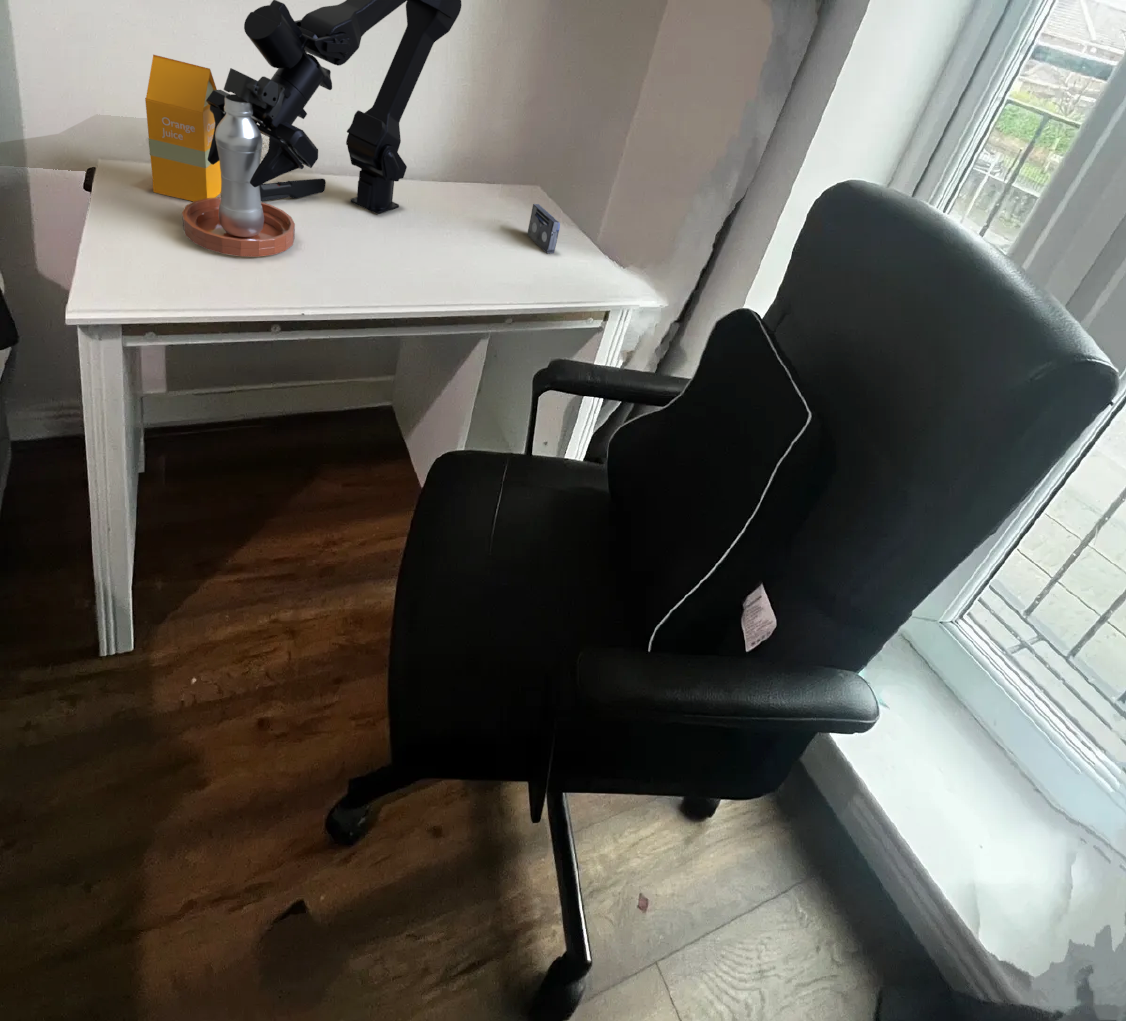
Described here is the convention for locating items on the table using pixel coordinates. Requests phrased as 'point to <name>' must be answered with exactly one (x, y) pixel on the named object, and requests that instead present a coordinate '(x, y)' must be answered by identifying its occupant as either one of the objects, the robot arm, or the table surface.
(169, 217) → the table surface
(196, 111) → the orange juice
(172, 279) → the table surface
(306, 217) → the table surface
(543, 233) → the mini dv tape
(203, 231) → the bowl
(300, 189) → the electric trimmer
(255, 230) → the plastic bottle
